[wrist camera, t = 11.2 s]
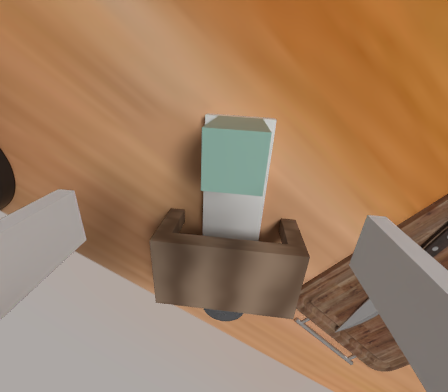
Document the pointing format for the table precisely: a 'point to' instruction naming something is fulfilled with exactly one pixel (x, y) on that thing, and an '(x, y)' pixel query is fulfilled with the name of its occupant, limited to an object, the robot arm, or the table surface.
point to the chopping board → (360, 302)
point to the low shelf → (228, 270)
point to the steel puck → (223, 314)
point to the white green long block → (235, 174)
